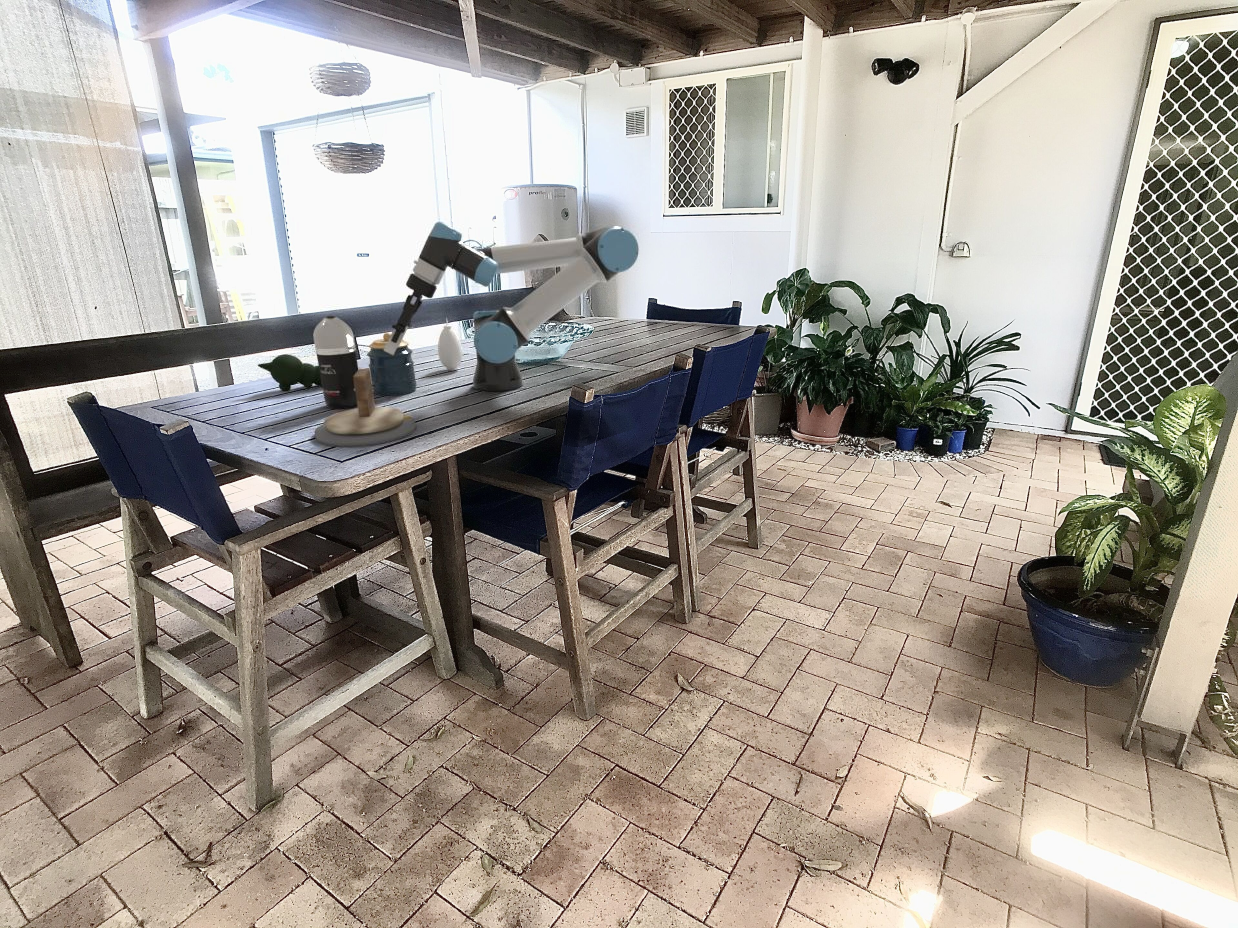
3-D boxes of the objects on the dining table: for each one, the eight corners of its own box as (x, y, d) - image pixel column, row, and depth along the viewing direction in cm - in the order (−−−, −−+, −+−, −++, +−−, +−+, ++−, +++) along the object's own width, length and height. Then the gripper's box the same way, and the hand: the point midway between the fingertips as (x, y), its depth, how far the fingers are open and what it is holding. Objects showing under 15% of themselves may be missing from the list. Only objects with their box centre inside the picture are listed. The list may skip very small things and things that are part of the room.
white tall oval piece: (455, 373, 220) (449, 319, 214) (435, 371, 222) (429, 318, 216) (467, 368, 227) (462, 316, 220) (448, 367, 229) (443, 315, 223)
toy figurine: (343, 385, 212) (257, 389, 198) (339, 326, 207) (251, 327, 192) (351, 390, 205) (263, 395, 191) (348, 330, 200) (256, 330, 185)
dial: (407, 410, 167) (401, 366, 163) (400, 431, 150) (393, 382, 146) (333, 415, 164) (326, 370, 160) (317, 436, 147) (308, 387, 143)
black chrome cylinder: (350, 410, 176) (335, 317, 167) (317, 409, 178) (300, 317, 169) (371, 401, 185) (358, 312, 177) (339, 399, 187) (324, 312, 179)
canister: (392, 398, 188) (384, 337, 182) (363, 393, 195) (354, 334, 189) (426, 389, 199) (419, 331, 193) (397, 384, 205) (390, 328, 199)
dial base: (419, 415, 171) (418, 409, 170) (411, 442, 149) (410, 434, 149) (326, 421, 166) (325, 414, 166) (305, 450, 145) (303, 442, 144)
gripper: (414, 270, 184) (383, 336, 188) (407, 274, 161) (371, 349, 165) (439, 283, 187) (407, 348, 191) (435, 289, 164) (399, 362, 168)
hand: (391, 348), depth 178 cm, fingers open, 13 cm apart
